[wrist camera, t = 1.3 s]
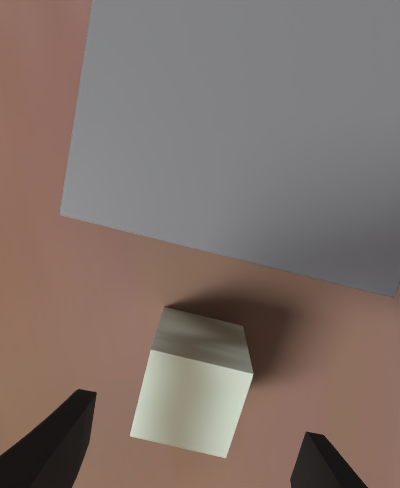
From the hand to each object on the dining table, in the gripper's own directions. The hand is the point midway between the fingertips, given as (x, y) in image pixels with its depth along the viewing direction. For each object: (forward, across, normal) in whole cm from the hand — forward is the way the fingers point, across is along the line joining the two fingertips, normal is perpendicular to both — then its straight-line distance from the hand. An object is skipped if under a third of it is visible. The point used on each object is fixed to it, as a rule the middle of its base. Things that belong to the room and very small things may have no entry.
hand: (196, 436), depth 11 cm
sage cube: (+10, 0, +3) cm, 10 cm away
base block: (+10, -1, -13) cm, 16 cm away
